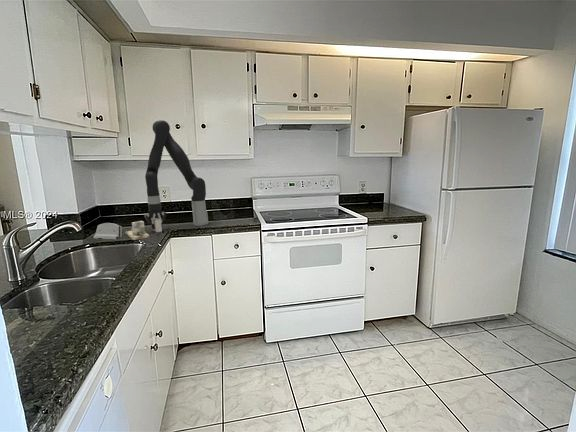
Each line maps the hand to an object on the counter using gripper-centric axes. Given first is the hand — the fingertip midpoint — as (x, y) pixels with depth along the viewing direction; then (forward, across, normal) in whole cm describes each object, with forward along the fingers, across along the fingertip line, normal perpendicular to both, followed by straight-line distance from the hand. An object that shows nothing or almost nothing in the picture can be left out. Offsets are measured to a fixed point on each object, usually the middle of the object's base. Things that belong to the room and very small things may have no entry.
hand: (157, 228), depth 207 cm
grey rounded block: (+2, +27, -7) cm, 28 cm away
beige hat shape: (+2, +13, +2) cm, 13 cm away
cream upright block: (+2, 0, 0) cm, 2 cm away
